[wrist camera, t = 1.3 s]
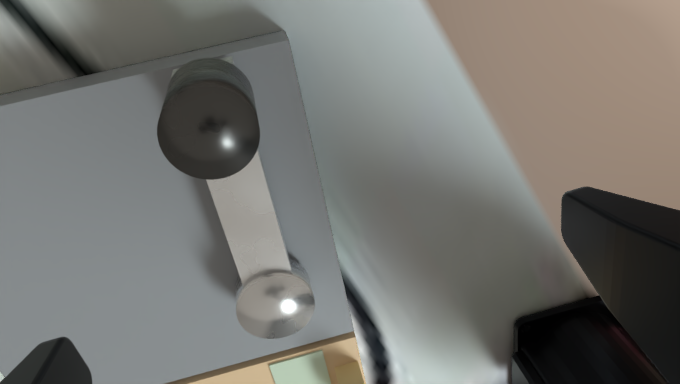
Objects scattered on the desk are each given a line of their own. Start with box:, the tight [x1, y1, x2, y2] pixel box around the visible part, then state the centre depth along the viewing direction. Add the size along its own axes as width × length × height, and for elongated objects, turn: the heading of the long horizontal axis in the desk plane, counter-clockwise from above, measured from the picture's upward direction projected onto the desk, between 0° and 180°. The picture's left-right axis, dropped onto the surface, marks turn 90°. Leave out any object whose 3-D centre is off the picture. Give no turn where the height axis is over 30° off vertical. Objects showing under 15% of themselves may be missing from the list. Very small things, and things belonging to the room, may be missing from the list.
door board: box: [0, 30, 366, 384], centre depth 23 cm, size 15×22×4 cm
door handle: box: [157, 56, 315, 339], centre depth 19 cm, size 12×3×4 cm, turn 10°
